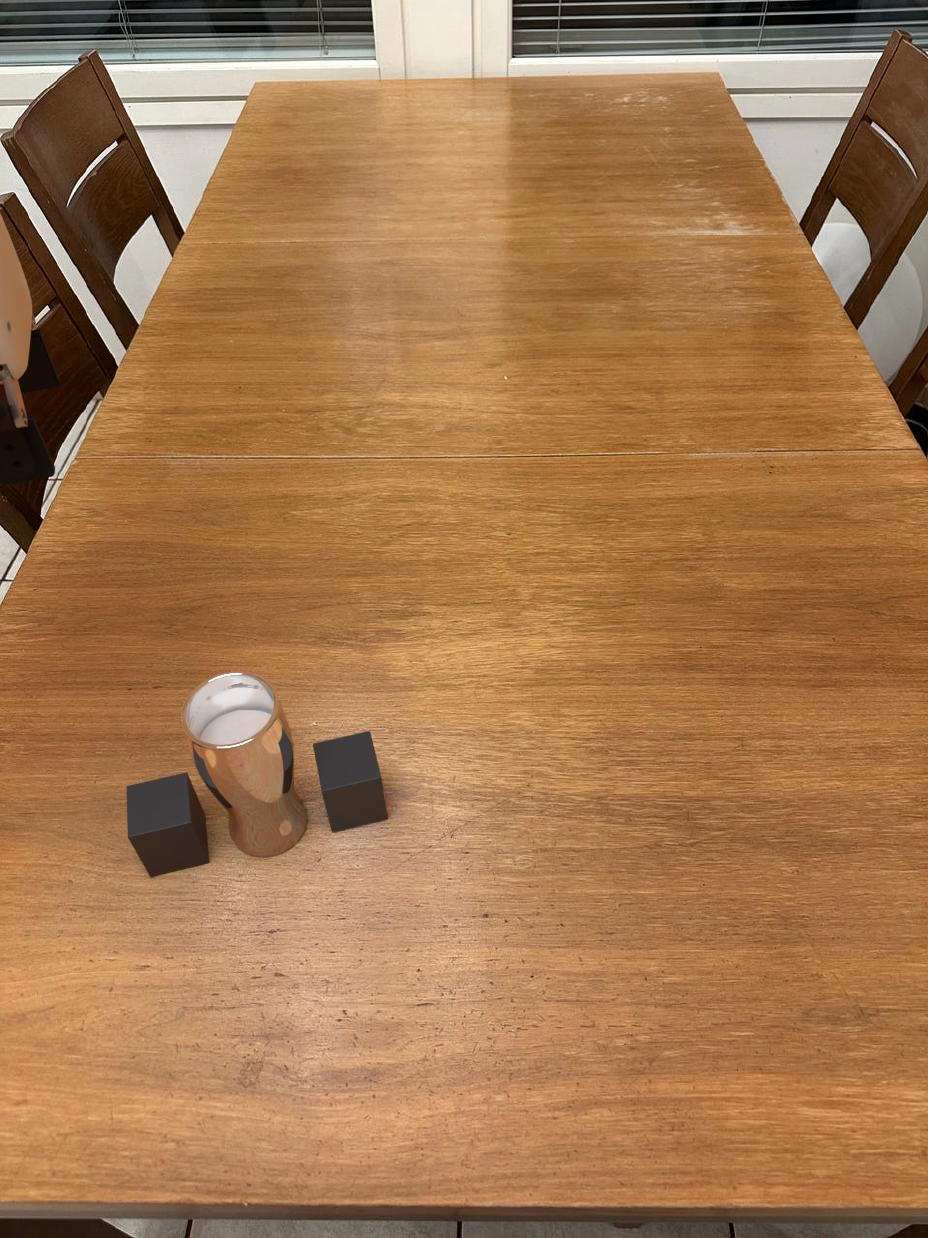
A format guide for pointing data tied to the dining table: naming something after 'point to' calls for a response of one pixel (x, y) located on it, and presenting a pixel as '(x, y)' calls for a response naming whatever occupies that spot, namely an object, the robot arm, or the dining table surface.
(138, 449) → the dining table surface
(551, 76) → the dining table surface
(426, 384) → the dining table surface
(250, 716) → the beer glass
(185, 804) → the block left
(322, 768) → the block right
